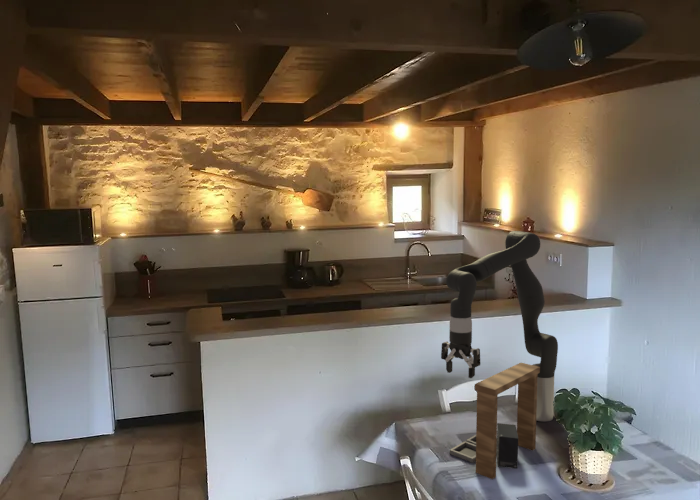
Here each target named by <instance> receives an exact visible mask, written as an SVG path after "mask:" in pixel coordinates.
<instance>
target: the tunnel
mask: <svg viewBox="0 0 700 500" xmlns="http://www.w3.org/2000/svg"><path fill="white" fill-rule="evenodd" d="M538 373H540V367H538V366H533V364H528V363H525V362H519V363H517V364H515V365H513V366H510V367H508V368H506V369H504V370H502V371H499V372H497V373H495V374H493V375H492V376H489V377H487V378H485V379H483V380H480V381H478V382H476V383H474V391H476V421H475V422H476V428H475V431H476V432H475V433H476V434H475V435H476V461H475V473H476V474H478V475H481V476H483V477H485V478H488V479H490V480H494V479H495V478H497V455H496V448H497V423H498V399H499V398H498V395H499V394H502V393H503V392H506V391H508V390H509V389H512V388H513V387H515V386H517V409H516V410H517V412H516V413H517V414H516V417H517V419H516V430H517V434H518V447H520V448H524V449H525V450H526V449H527V450H530V451H534V450H536V443H537V420H536V413H537V379H538Z"/></svg>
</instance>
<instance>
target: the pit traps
mask: <svg viewBox="0 0 700 500" xmlns="http://www.w3.org/2000/svg"><path fill="white" fill-rule="evenodd" d="M449 455H451V456H454V457H456V458H459V459H461V460H463V461H466V462H469V463H471V464H474V463H476V434H473V436H471V437H469V438H468V439H466V440H464V441H462V442H461V443H459V444H457V445H456V446H454V447H452V448H450V449H449Z"/></svg>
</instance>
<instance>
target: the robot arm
mask: <svg viewBox="0 0 700 500" xmlns="http://www.w3.org/2000/svg"><path fill="white" fill-rule="evenodd" d="M504 243H505V249H504V250H499V251H496V252H492V253H489V254H486V255H484V256H482V257H480V258H478V259H477V260H476V261H473V262H472V263H470V264H467V265H463V266H460V267H456V268H455V269H453V270H451V271H450V272H449V273H448V275H447V276H446V279H445V285H446V287H448V288H449V289H450V290H452V291H455V292H458V295H457V296H458V297H455V298H454V299H451V301H450V312H449V313H450V315H449V316H450V318H449V338H448V339H449V342H448V341H444V342H442V343H441V350H440V351H441V352H440V353H441V354H440V359H441V360H444V361H445V363H446V365H445V367H446V368H445V370H446V372H447V373H452V372H453V359H454V358H456V359H460V360H464V362H465V363H466V364H467V365H468V379H473V378H474V377H475V376H476V368H477V367H479V366H481V349H480V348H479V347H478V348H472V347H473V346H472V344H473V343H472V341H473V340H472V339H473V337H472V336H473V321H472V305H473V304H472V303H473V301H474V297H475V294H476V290H477V282H482V281H485V280H486V279H488V278H490V277H491V276H493V275H495V274H497V273H498V272H501V271H502V270H504V269H506V268H508V267H511V270H512V274H513V280H514V282H515V287H516V293H517V299H518V303H519V308H520V313H521V318H522V327H523V337H524V339H523V340H524V345H525V349H526V352H527V353H528V354H530V355H531V356H535V357H538V358H540V362H539V363H533V364H532V365H533V366H538V367H540V373H538V379H537V413H536V422H537V421H538V422H550V421H551V422H552V421H553V419H554V406H553V404H554V403H553V401H554V399H555V371H556V369H557V361H558V353H559V344H558V340H557V338H556V337H555V336H554V335H551V334H548V333H547V334H546V333H543V332H540V329H539V324H538V320H539V318H540V315H541V314H542V311H543V309H544V307H545V304H546V303H545V301H546V300H545V296H544V295H545V294H544V290H543V287H542V284H541V282H540V280H539V279H538V277H537V276H536V275H535V273H534V272H533V271H532V269H531V267H530V265H529V264H528V261H527V260H528V259H530V258H533V257H535V256H536V255H537V254H538V253H539V251H540V249H541V239H540V237H539V235H537V234H535V233H532V232H528V231H519V230H512V231H509V232H508V234H507V235H506V237H505V242H504ZM449 349H450V353H449Z"/></svg>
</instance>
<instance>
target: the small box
mask: <svg viewBox="0 0 700 500" xmlns="http://www.w3.org/2000/svg"><path fill="white" fill-rule="evenodd" d="M518 455H519V446H518V434H517V424H510V423H509V424H507V423H500V422H497V448H496V465H497V467H499V468H508V469H518V460H519V458H518V457H519V456H518Z"/></svg>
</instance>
